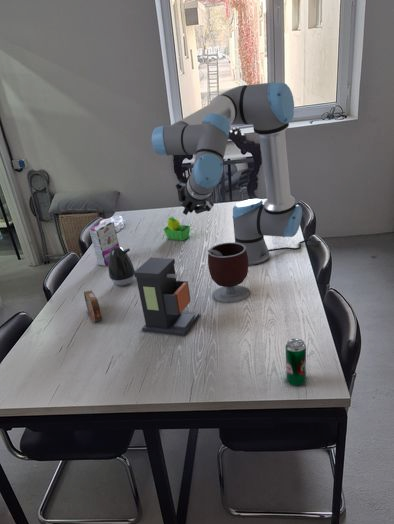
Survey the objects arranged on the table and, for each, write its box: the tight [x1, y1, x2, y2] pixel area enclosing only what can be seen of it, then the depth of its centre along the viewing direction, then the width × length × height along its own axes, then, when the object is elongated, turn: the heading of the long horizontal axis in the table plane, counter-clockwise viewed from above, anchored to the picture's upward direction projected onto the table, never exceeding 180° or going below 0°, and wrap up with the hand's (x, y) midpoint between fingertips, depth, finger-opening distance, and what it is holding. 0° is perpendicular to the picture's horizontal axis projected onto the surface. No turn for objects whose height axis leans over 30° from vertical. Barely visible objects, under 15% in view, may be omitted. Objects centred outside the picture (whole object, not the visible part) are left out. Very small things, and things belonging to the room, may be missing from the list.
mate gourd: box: [207, 242, 249, 304], centre depth 168 cm, size 16×14×20 cm
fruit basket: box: [162, 216, 191, 242], centre depth 227 cm, size 11×9×11 cm
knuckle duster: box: [98, 215, 127, 233], centre depth 254 cm, size 3×18×15 cm
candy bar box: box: [88, 221, 120, 267], centre depth 211 cm, size 11×5×16 cm, turn 148°
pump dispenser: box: [107, 246, 136, 287], centre depth 190 cm, size 10×10×15 cm
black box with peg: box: [134, 257, 200, 336], centre depth 156 cm, size 15×13×21 cm
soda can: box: [285, 337, 307, 387], centre depth 124 cm, size 5×5×12 cm
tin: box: [83, 290, 102, 323], centre depth 171 cm, size 15×3×8 cm, turn 23°
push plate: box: [174, 283, 191, 314], centre depth 154 cm, size 1×8×7 cm, turn 157°
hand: (186, 210), depth 162 cm, fingers closed
